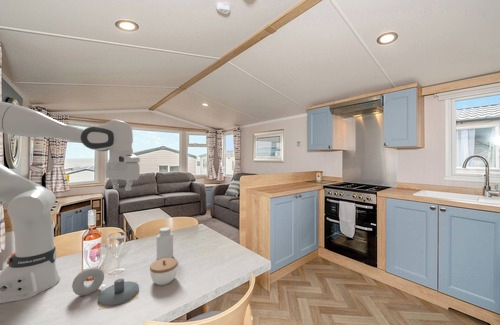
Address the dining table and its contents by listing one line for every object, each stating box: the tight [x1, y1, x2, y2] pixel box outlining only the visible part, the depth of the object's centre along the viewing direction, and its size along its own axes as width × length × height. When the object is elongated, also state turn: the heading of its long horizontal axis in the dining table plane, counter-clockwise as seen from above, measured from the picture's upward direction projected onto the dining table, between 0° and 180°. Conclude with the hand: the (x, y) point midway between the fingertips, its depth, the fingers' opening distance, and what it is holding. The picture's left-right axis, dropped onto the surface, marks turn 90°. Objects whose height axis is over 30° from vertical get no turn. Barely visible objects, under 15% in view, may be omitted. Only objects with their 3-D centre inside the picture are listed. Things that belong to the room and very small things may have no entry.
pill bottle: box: [156, 226, 174, 260], centre depth 111 cm, size 8×8×15 cm
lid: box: [97, 278, 140, 307], centre depth 81 cm, size 13×13×5 cm
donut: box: [71, 266, 105, 297], centre depth 82 cm, size 10×4×10 cm, turn 141°
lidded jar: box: [149, 257, 179, 286], centre depth 90 cm, size 11×11×9 cm
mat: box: [98, 281, 139, 310], centre depth 81 cm, size 12×12×1 cm
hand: (121, 189), depth 94 cm, fingers open, 8 cm apart
